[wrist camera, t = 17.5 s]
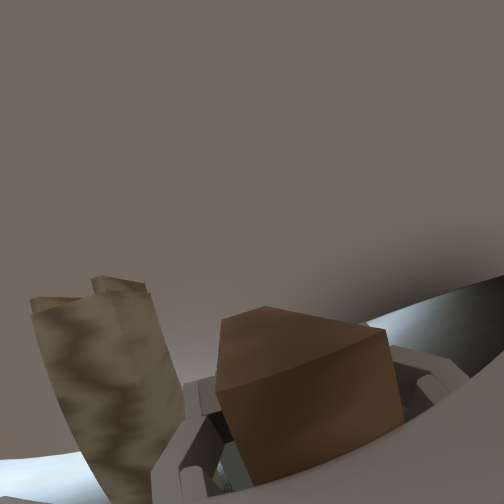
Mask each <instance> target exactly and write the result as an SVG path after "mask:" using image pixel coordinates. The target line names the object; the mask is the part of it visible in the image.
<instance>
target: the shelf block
mask: <svg viewBox="0 0 504 504" xmlns="http://www.w3.org/2000/svg"><path fill="white" fill-rule="evenodd" d="M91 282H92V286H93V290H94V294H95V295H92V296H89V297H86V298H62V297H36V298H33V299H30V303H31V308H32V312H33V314H31V319H32V323H33V327H34V331H35V335H36V338H37V342H38V345H39V349H40V352H41V355H42V359H43V362H44V365H45V368H46V371H47V374H48V376H49V379H50V382H51V385H52V388H53V390H54V393H55V395H56V398H57V400H58V403H59V405H60V408H61V410H62V412H63V415H64V417H65V419H66V422H67V424H68V426H69V428H70V430H71V433H72V435H73V437H74V439H75V441H76V443H77V445H78V447H79V449H80V451H81V453H82V455H83V456H84V458H85V460H86V462H87V464H88V466H89V467H90V469H91V471H92V473H93V474H94V476H95V478H96V479H97V481H98V483H99V484H100V486H101V488H102V489H103V491H104V492H105V494H106V496H107V497H108V499H109V500H110V502H111V503H112V504H153V503H152V487H151V471H152V469H153V468H154V466H155V464H156V463H157V461H158V460H159V458H160V456H161V455H162V453H163V452H164V450H165V448H166V447H167V445H168V443H169V442H170V440H171V439H172V437H173V435H174V434H175V432H176V430H177V429H178V427H179V425H180V424H181V422H182V421H185V420H186V413H185V403H184V393H183V390H182V388H181V385H180V382H179V380H178V377H177V374H176V371H175V368H174V366H173V363H172V360H171V357H170V354H169V351H168V349H167V346H166V343H165V340H164V337H163V334H162V331H161V327H160V324H159V321H158V318H157V315H156V311H155V308H154V305H153V301H152V298H151V294H150V293H147V289H146V286H145V284H144V283H139V282H134V281H128V280H122V279H117V278H112V277H106V276H99V277H96V278H93V279H91ZM212 480H213V481H214V482H215V483H216V484H217V485H218V487H219V488H220V489H221V490H222V491H223V480H222V479H221V476H220V474H219V472H218V470H217V468H216V471H215V473H214V476H213V479H212Z"/></svg>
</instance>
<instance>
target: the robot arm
mask: <svg viewBox="0 0 504 504" xmlns="http://www.w3.org/2000/svg"><path fill="white" fill-rule="evenodd" d="M358 325H363V326H368V327H370V326H369V325H368V324H367V323H365V322H362V323H360V324H358ZM390 351H391V355H392V360H393V364H394V369H395V374H396V379H397V384H398V389H399V394H400V399H401V405H403V406H405V407H408V408H410V411H409V415H408V418H407V421H406V423H405V424H403V425H401V426H399V427H398V428H396V429H394V430H392V431H391V432H389V433H387V434H385V435H383V436H381V437H379V438H377V439H376V440H374V441H372V442H370V443H368V444H366V445H364V446H361V447H359V448H357V449H355V450H353V451H351V452H349V453H346V454H344V455H342V456H340V457H337V458H335V459H333V460H330V461H328V462H326V463H323V464H321V465H318V466H315V467H313V468H310V469H308V470H305V471H302V472H299V473H296V474H294V475H291V476H288V477H285V478H282V479H278V480H275V481H272V482H269V483H265V484H262V485H258V486H255V487H251V488H247V489H243V490H239V491H235V492H231V493H226V494H225V493H224V492H223V491H222V490H221V489H220V488H219V487H218V485H217V484H216V483H215V482H214V481H213V480H212V479H213V476H214V473H215V471H216V468H217V466H218V463H219V460H220V458H221V455H222V453H223V450H224V447H225V444H226V443H229V442H233V441H234V439H233V437H232V435H231V432H230V430H229V427H228V425H227V422H226V420H225V417H224V415H223V412H222V410H221V407H220V404H219V402H218V399H217V396H216V394H215V387H216V376H217V375H216V376H212V377H208V378H205V379H200V380H198V381H194V382H189V383H185V384H184V385H183V393H184V403H185V413H186V420H185V421H182V422H181V424H180V425H179V427H178V429H177V430H176V432H175V434H174V435H173V437H172V439H171V440H170V442H169V443H168V445H167V447H166V448H165V450H164V452H163V453H162V455H161V456H160V458H159V460H158V461H157V463H156V464H155V466H154V468H153V469H152V471H151V487H152V503H153V504H504V351H503V352H502V353H501V354H500V355H499V356H497V357H496V358H495V359H494V360H493V361H492V362H491V363H489V364H488V365H487V366H486V367H485V368H483V369H482V370H481V371H480V372H479V373H477V374H476V375H475V376H474V377H472V378H471V379H470V378H469V377H468V376H467V375H466V374H465V373H464V372H463V371H462V370H461V369H460V368H459V367H457V366H456V365H455V364H454V363H453V362H452V361H451V360H450V359H447V358H443V357H439V356H435V355H430V354H426V353H422V352H418V351H414V350H410V349H406V348H402V347H398V346H394V345H392V346H390ZM0 504H51V503H43V502H36V501H29V500H23V499H18V498H13V497H8V496H3V497H0Z"/></svg>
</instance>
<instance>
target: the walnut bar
mask: <svg viewBox="0 0 504 504" xmlns="http://www.w3.org/2000/svg"><path fill="white" fill-rule="evenodd" d="M215 394H216V396H217V399H218V402H219V404H220V407H221V410H222V412H223V415H224V417H225V420H226V422H227V425H228V427H229V430H230V432H231V435H232V437H233V439H234V442H235V444H236V447H237V449H238V451H239V454H240V456H241V458H242V461H243V463H244V465H245V467H246V470H247V472H248V474H249V476H250V478H251V481H252V483H253V485H254V487H255V486H258V485H262V484H265V483H269V482H272V481H275V480H278V479H282V478H285V477H288V476H291V475H294V474H296V473H299V472H302V471H305V470H308V469H310V468H313V467H315V466H318V465H321V464H323V463H326V462H328V461H330V460H333V459H335V458H337V457H340V456H342V455H344V454H346V453H349V452H351V451H353V450H355V449H357V448H359V447H361V446H364V445H366V444H368V443H370V442H372V441H374V440H376V439H377V438H379V437H381V436H383V435H385V434H387V433H389V432H391V431H392V430H394V429H396V428H398V427H399V426H401V425H403V424H405V423H404V417H403V411H402V405H401V399H400V394H399V389H398V384H397V379H396V374H395V369H394V364H393V360H392V355H391V351H390V347H389V343H388V338H387V334H386V330H385V329H380V328H374V327H368V326H363V325H357V324H352V323H346V322H341V321H336V320H330V319H325V318H320V317H315V316H310V315H305V314H301V313H295V312H291V311H286V310H281V309H277V308H272V307H268V306H264V307H260V308H257V309H255V310H251V311H248V312H245V313H242V314H238V315H235V316H232V317H229V318H225V319H222V320H221V331H220V342H219V353H218V364H217V376H216V387H215Z"/></svg>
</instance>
